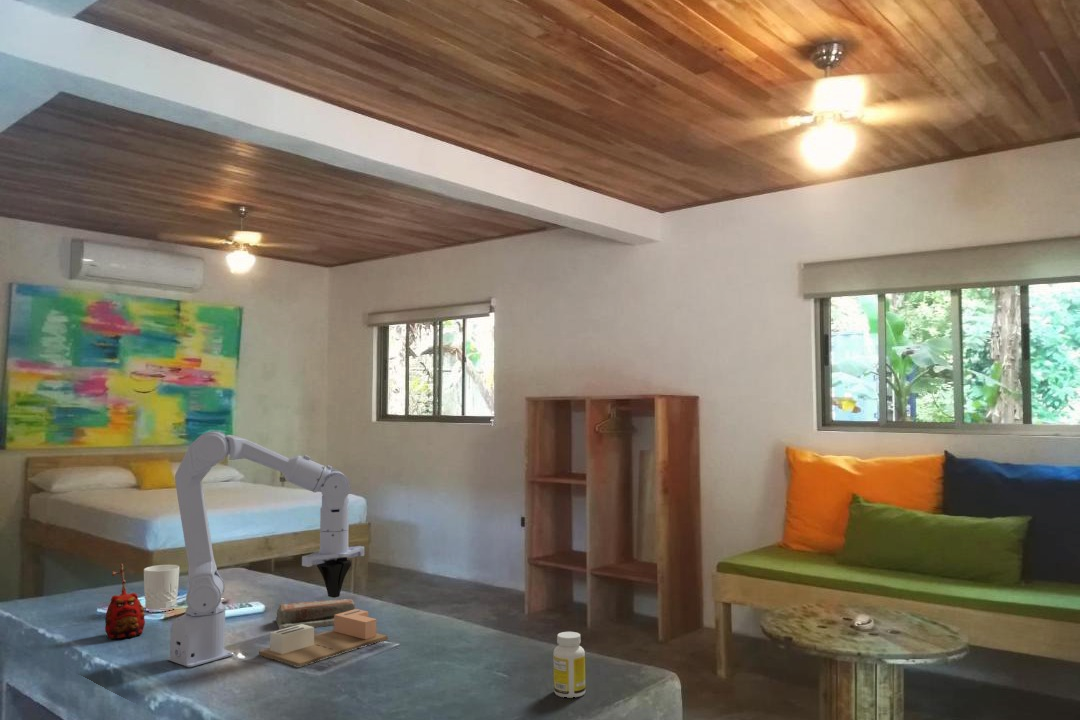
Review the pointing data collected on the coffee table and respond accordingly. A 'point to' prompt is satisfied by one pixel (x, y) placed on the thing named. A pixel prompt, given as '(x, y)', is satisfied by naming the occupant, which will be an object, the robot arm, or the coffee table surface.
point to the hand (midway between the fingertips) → (333, 596)
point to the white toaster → (291, 638)
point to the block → (355, 624)
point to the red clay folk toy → (124, 614)
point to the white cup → (161, 586)
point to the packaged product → (312, 613)
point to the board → (322, 648)
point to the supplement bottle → (569, 666)
